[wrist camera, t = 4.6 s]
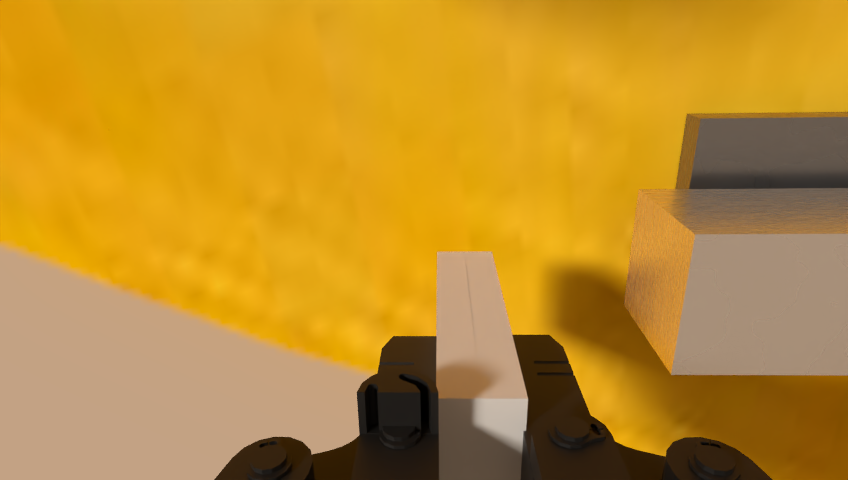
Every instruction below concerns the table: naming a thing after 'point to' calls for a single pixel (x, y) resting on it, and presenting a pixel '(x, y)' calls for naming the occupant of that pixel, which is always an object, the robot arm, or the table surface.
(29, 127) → the table surface
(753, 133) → the rail
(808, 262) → the pale grey bar
